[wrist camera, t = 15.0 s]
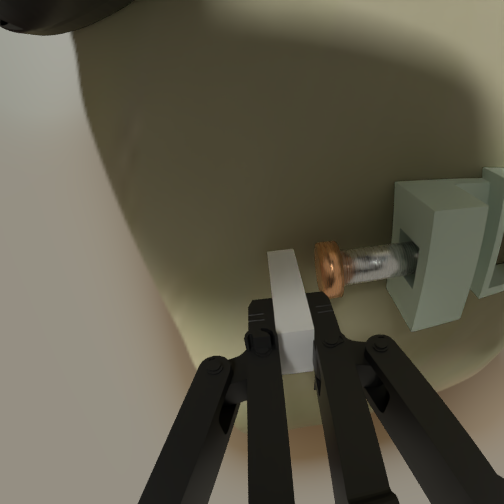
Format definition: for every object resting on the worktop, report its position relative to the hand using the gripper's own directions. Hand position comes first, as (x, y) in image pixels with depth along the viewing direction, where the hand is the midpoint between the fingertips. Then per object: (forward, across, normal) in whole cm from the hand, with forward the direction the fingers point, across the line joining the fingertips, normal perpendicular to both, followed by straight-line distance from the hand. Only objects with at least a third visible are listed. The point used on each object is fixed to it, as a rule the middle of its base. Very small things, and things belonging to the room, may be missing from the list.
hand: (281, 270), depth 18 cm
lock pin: (+1, +6, 0) cm, 6 cm away
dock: (+2, +17, +1) cm, 17 cm away
